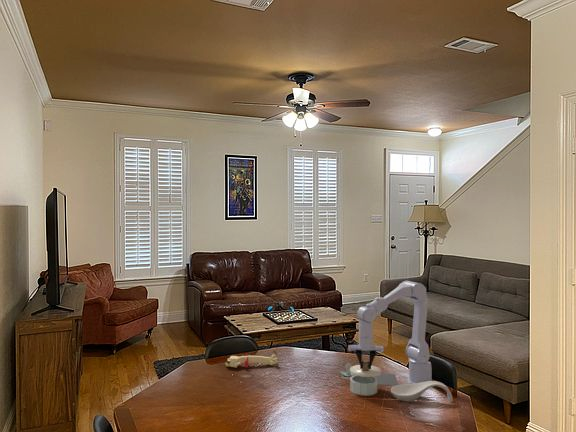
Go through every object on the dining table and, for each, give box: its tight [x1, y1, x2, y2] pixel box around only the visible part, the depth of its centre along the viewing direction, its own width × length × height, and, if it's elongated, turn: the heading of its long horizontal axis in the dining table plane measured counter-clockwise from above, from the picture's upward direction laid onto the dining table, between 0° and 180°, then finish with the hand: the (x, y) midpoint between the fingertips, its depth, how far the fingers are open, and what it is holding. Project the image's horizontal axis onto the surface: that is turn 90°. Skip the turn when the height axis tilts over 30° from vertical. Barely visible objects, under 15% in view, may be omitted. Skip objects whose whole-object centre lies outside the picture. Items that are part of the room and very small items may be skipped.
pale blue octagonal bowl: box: [349, 375, 378, 396], centre depth 194 cm, size 11×11×5 cm
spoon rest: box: [390, 380, 454, 403], centre depth 186 cm, size 24×12×7 cm, turn 85°
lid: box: [350, 360, 382, 377], centre depth 195 cm, size 13×13×4 cm
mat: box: [375, 373, 399, 386], centre depth 207 cm, size 14×14×1 cm
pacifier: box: [339, 362, 354, 380], centre depth 210 cm, size 7×6×6 cm
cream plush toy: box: [224, 349, 278, 369], centre depth 226 cm, size 10×9×25 cm
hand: (365, 368), depth 195 cm, fingers closed on lid, 3 cm apart
